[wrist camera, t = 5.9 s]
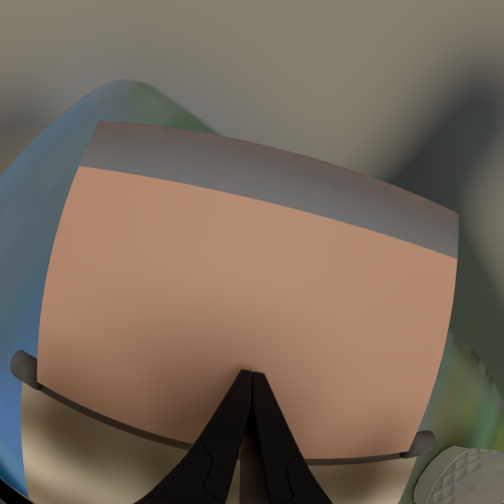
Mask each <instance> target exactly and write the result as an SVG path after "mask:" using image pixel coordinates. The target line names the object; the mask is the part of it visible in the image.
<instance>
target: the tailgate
mask: <svg viewBox="0 0 504 504" xmlns="http://www.w3.org/2000/svg"><path fill="white" fill-rule="evenodd" d="M457 255H458V214H457V213H455V212H453V211H451V210H449V209H447V208H445V207H443V206H441V205H438V204H436V203H434V202H432V201H429V200H427V199H425V198H423V197H420V196H418V195H416V194H413V193H411V192H409V191H406V190H404V189H401V188H399V187H396V186H394V185H391V184H389V183H386V182H383V181H380V180H378V179H375V178H372V177H370V176H367V175H364V174H361V173H358V172H355V171H353V170H350V169H346V168H343V167H340V166H337V165H334V164H331V163H328V162H325V161H321V160H318V159H315V158H311V157H308V156H304V155H300V154H297V153H293V152H289V151H286V150H282V149H278V148H274V147H270V146H266V145H261V144H257V143H253V142H248V141H243V140H239V139H234V138H229V137H224V136H219V135H213V134H208V133H202V132H196V131H190V130H183V129H176V128H169V127H162V126H153V125H144V124H134V123H123V122H109V121H99V123H98V125H97V127H96V129H95V131H94V134H93V136H92V138H91V140H90V142H89V144H88V146H87V149H86V151H85V153H84V156H83V158H82V160H81V163H80V165H79V168H78V170H77V173H76V175H75V178H74V181H73V183H72V186H71V189H70V192H69V194H68V197H67V200H66V203H65V206H64V210H63V213H62V216H61V219H60V223H59V226H58V230H57V233H56V237H55V241H54V245H53V249H52V253H51V258H50V262H49V267H48V272H47V277H46V283H45V289H44V295H43V302H42V309H41V317H40V327H39V339H38V358H37V382H39V383H40V384H42V385H44V386H45V387H47V388H49V389H51V390H53V391H54V392H56V393H58V394H60V395H62V396H64V397H66V398H68V399H70V400H72V401H74V402H76V403H78V404H80V405H82V406H84V407H86V408H88V409H90V410H93V411H95V412H97V413H100V414H102V415H104V416H107V417H109V418H112V419H114V420H117V421H119V422H122V423H125V424H127V425H130V426H133V427H136V428H139V429H141V430H144V431H148V432H151V433H154V434H157V435H161V436H164V437H167V438H171V439H175V440H179V441H182V442H186V443H191V444H194V442H195V441H196V439H197V438H198V437H199V435H200V434H201V432H202V431H203V429H204V428H205V426H206V424H207V423H208V421H209V420H210V418H211V417H212V415H213V414H214V412H215V410H216V409H217V407H218V406H219V404H220V403H221V401H222V399H223V398H224V396H225V395H226V393H227V391H228V390H229V388H230V386H231V385H232V383H233V382H234V380H235V378H236V377H237V375H238V373H239V372H240V370H241V369H246V370H251V371H252V372H253V371H257V372H262V373H264V374H265V375H266V378H267V380H268V382H269V384H270V387H271V389H272V391H273V393H274V396H275V398H276V400H277V402H278V404H279V407H280V409H281V411H282V413H283V415H284V417H285V420H286V422H287V424H288V426H289V428H290V430H291V432H292V435H293V437H294V439H295V441H296V443H297V445H298V447H299V449H300V451H299V452H301V453H302V455H303V457H304V458H307V459H333V458H355V457H367V456H377V455H386V454H393V453H400V452H406V451H409V449H410V446H411V444H412V442H413V440H414V437H415V435H416V433H417V430H418V428H419V425H420V423H421V420H422V418H423V415H424V413H425V410H426V407H427V404H428V402H429V399H430V396H431V393H432V390H433V386H434V383H435V380H436V376H437V373H438V369H439V366H440V362H441V358H442V354H443V350H444V346H445V341H446V337H447V332H448V327H449V321H450V316H451V309H452V303H453V296H454V288H455V279H456V268H457ZM239 453H240V451H239Z"/></svg>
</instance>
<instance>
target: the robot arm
mask: <svg viewBox="0 0 504 504" xmlns="http://www.w3.org/2000/svg"><path fill="white" fill-rule="evenodd" d="M239 451H240V491H239V504H333V503H332V501H331V500H330V499H329V497H328V496H327V494H326V493H325V492H324V490H323V489H322V487H321V486H320V484H319V483H318V482H317V480H316V478H315V477H314V475H313V474H312V472H311V471H310V469H309V467H308V465H307V463H306V461H305V459H304V457H303V455H302V453H301V452H299V451H300V449H299V447H298V445H297V443H296V441H295V439H294V437H293V435H292V432H291V430H290V428H289V426H288V424H287V422H286V420H285V417H284V415H283V413H282V411H281V409H280V407H279V404H278V402H277V400H276V398H275V396H274V393H273V391H272V389H271V387H270V384H269V382H268V380H267V378H266V375H265V374H264V373H262V372H257V371H253V372H252V371H251V370H246V369H241V370H240V372H239V373H238V375H237V377H236V378H235V380H234V382H233V383H232V385H231V386H230V388H229V390H228V391H227V393H226V395H225V396H224V398H223V399H222V401H221V403H220V404H219V406H218V407H217V409H216V410H215V412H214V414H213V415H212V417H211V418H210V420H209V421H208V423H207V424H206V426H205V428H204V429H203V431H202V432H201V434H200V435H199V437H198V438H197V439H196V441H195V442H194V444H193V445H192V447H191V448H190V450H189V451H188V452H187V454H186V455H185V456H184V457H183V459H182V460H181V461H180V462H179V463H178V464H177V465H176V466H175V467H174V468H173V469H172V470H171V471H170V472H169V473H168V474H167V475H166V476H165V477H164V478H163V479H162V480H161V481H160V482H159V483H158V484H157V485H156V486H155V487H154V488H153V489H152V490H151V491H150V492H149V493H147V494H146V495H145V496H144V497H142V498H141V499H139V500H138V501H136V502H135V503H133V504H226V503H225V502H226V500H227V497H228V493H229V489H230V486H231V482H232V478H233V474H234V471H235V467H236V463H237V459H238V455H239ZM0 504H36V503H34V502H33V501H31V500H30V499H28V498H27V497H26V496H24V495H23V494H21V493H20V492H19V491H17V490H16V489H15V488H13V487H12V486H11V485H9V484H8V483H7V482H6V481H4V480H3V479H2V478H1V477H0ZM502 504H504V503H502Z"/></svg>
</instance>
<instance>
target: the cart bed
mask: <svg viewBox="0 0 504 504" xmlns="http://www.w3.org/2000/svg"><path fill="white" fill-rule="evenodd" d="M10 367H11V372H12V374H13V375H14V376H15V377H17V378H18V379H20V380H21V381H23V384H22V403H21V433H22V451H23V462H24V471H25V478H26V485H27V491H28V496H29V499H30V500H31V501H33V502H34V503H36V504H133V503H135V502H136V501H138V500H139V499H141V498H142V497H144V496H145V495H146V494H147V493H149V492H150V491H151V490H152V489H153V488H154V487H155V486H156V485H157V484H158V483H159V482H160V481H161V480H162V479H163V478H164V477H165V476H166V475H167V474H168V473H169V472H170V471H171V470H172V469H173V468H174V467H175V466H176V465H177V464H178V463H179V462H180V461H181V460H182V459H183V457H184V456H185V455H186V454H187V452H188V451H189V450H190V448H191V447H192V445H193V444H191V443H186V442H182V441H179V440H175V439H171V438H167V437H164V436H161V435H157V434H154V433H151V432H148V431H144V430H141V429H139V428H136V427H133V426H130V425H127V424H125V423H122V422H119V421H117V420H114V419H112V418H109V417H107V416H104V415H102V414H100V413H97V412H95V411H93V410H90V409H88V408H86V407H84V406H82V405H80V404H78V403H76V402H74V401H72V400H70V399H68V398H66V397H64V396H62V395H60V394H58V393H56V392H54V391H53V390H51V389H49V388H47V387H45V386H44V385H42V384H40V383H39V382H37V359H36V358H35V357H33V356H31V355H29V354H28V353H26V352H25V351H23V350H19V351H17V352H16V353H15V354H14V355H13V357H12V360H11V365H10ZM434 445H435V436H434V434H433V432H431V431H429V430H427V431H420V432H417V433H416V435H415V437H414V440H413V442H412V444H411V446H410V449H409V451H406V452H400V453H393V454H386V455H377V456H367V457H355V458H333V459H307V458H304V459H305V461H306V463H307V465H308V467H309V469H310V471H311V472H312V474H313V475H314V477H315V478H316V480H317V482H318V483H319V484H320V486H321V487H322V489H323V490H324V492H325V493H326V494H327V496H328V497H329V499H330V500H331V501H332V503H333V504H398V502H399V500H400V498H401V496H402V494H403V491H404V489H405V487H406V484H407V482H408V480H409V477H410V475H411V472H412V469H413V467H414V464H415V461H416V458H417V456H422V455H426V454H428V453H430V452H431V451H432V449H433V448H434ZM239 491H240V453H239V455H238V459H237V463H236V467H235V471H234V474H233V478H232V482H231V486H230V489H229V493H228V497H227V500H226V502H225V503H226V504H239Z"/></svg>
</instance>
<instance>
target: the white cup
mask: <svg viewBox="0 0 504 504" xmlns="http://www.w3.org/2000/svg"><path fill="white" fill-rule="evenodd" d="M413 501H414V502H415V503H416V504H502V503H504V451H495V450H485V449H480V448H477V449H472V448H467V447H463V446H451V447H449V448H447V449H446V450H444V451H442V452H441V453H440V454H439V455H438V456H437V457H435V458H434V459H433V460H432V461H431V462H430V463H429V465H428V466H427V467H426V469H425V470H424V472H423V473H422V474H421V476H420V477H419V480H418V482H417V484H416V486H415V489H414V494H413Z"/></svg>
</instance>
